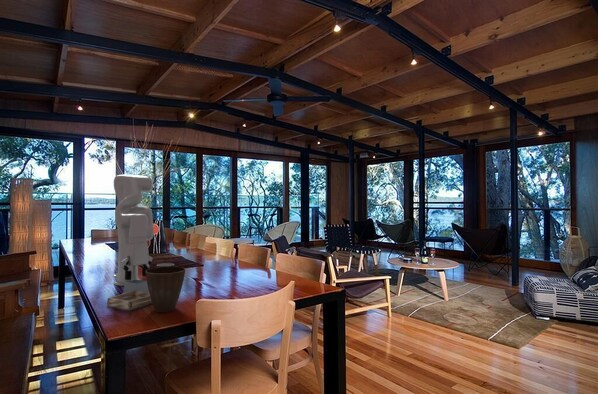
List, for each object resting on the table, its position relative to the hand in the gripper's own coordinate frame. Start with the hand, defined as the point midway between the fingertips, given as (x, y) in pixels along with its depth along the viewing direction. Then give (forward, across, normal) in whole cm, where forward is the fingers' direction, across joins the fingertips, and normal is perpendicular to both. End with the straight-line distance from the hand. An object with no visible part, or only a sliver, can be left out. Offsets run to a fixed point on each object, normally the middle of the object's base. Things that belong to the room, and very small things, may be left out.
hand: (136, 277), depth 155 cm
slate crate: (+8, -1, -1) cm, 8 cm away
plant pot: (+9, +11, +26) cm, 30 cm away
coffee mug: (+7, -23, -6) cm, 25 cm away
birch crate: (+8, +11, +10) cm, 17 cm away
